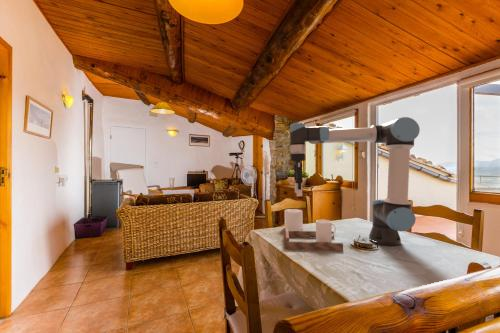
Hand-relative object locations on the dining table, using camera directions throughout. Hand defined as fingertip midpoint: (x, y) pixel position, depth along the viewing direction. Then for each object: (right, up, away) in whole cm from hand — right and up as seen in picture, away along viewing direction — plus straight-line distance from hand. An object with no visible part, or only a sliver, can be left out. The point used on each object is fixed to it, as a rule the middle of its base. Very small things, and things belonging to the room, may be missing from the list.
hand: (298, 194), depth 123 cm
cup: (+4, -27, +34) cm, 44 cm away
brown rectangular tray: (+8, -27, +6) cm, 29 cm away
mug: (+16, -27, +5) cm, 32 cm away
